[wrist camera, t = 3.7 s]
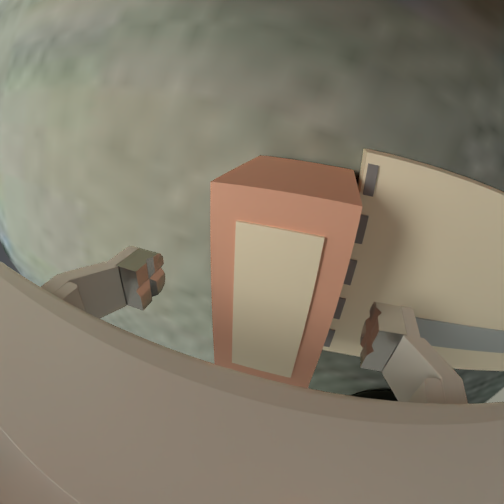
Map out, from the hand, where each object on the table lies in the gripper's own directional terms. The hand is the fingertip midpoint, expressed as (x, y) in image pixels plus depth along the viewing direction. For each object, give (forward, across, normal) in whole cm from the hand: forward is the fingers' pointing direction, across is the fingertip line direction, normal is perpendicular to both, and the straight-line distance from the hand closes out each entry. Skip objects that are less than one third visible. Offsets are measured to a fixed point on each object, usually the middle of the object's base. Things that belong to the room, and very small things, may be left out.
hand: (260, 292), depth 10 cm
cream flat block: (+4, -10, 0) cm, 11 cm away
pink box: (+4, -1, 0) cm, 4 cm away
